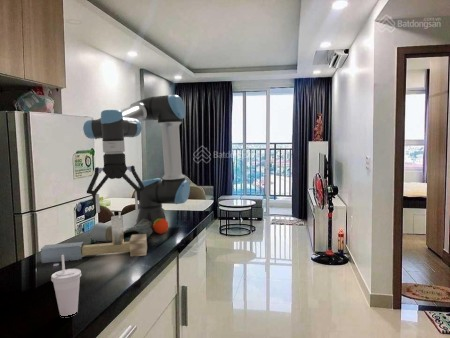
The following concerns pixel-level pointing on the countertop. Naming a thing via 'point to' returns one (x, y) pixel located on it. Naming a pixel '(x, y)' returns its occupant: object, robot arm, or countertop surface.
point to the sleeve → (61, 252)
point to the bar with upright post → (113, 247)
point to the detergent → (139, 230)
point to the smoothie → (67, 289)
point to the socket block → (138, 245)
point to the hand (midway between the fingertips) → (117, 211)
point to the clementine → (160, 226)
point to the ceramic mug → (102, 232)
